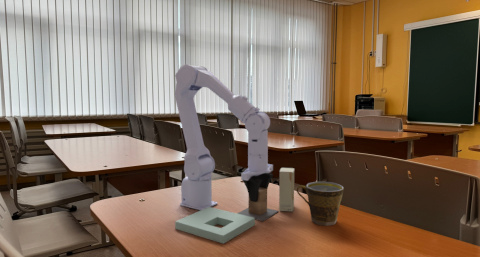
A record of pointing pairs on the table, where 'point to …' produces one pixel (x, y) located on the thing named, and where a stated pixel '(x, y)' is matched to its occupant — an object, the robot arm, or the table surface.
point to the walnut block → (259, 203)
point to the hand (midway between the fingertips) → (257, 199)
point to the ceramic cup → (323, 201)
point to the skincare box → (286, 189)
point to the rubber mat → (259, 217)
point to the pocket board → (209, 217)
